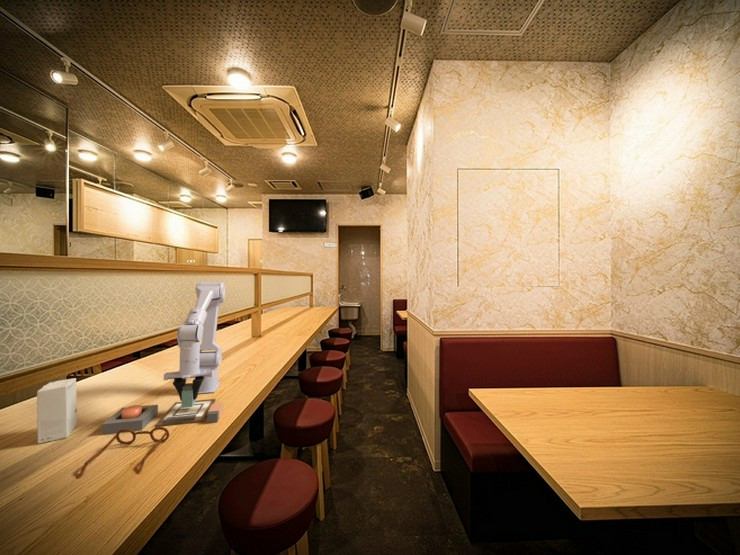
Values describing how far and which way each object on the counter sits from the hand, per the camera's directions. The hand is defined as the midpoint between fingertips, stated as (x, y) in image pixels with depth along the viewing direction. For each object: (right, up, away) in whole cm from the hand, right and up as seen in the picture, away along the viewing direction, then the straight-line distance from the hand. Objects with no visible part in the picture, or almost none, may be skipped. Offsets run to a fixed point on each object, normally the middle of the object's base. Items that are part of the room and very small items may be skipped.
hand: (189, 398), depth 94 cm
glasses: (0, -6, -23) cm, 24 cm away
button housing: (-13, -4, -8) cm, 16 cm away
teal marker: (0, -2, 0) cm, 2 cm away
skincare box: (-29, -4, -14) cm, 32 cm away
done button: (-13, -3, -8) cm, 15 cm away
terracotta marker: (+11, -5, -3) cm, 12 cm away
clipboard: (0, -5, 0) cm, 5 cm away
